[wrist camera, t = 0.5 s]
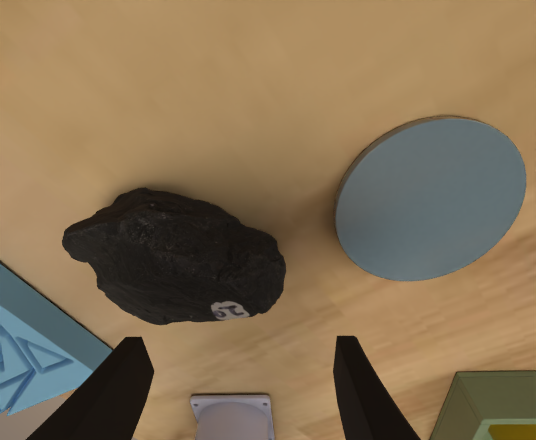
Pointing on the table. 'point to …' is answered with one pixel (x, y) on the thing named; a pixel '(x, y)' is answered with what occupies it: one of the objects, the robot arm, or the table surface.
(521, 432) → the pepper
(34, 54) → the table surface
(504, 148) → the saucer
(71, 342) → the decorative tile
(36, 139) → the table surface
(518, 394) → the tub
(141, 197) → the rock
